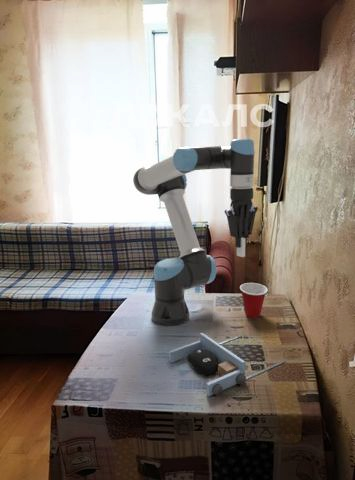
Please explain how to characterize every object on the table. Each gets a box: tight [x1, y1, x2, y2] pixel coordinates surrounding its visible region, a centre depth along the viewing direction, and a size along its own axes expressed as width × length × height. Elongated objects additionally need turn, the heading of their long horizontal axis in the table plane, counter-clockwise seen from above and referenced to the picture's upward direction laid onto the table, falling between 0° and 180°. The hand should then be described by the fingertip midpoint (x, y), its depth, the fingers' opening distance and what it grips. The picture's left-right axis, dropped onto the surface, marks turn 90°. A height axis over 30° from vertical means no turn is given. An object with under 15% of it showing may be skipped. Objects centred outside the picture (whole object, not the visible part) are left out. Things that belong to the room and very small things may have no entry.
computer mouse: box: [187, 350, 218, 378], centre depth 115 cm, size 8×12×4 cm, turn 20°
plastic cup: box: [239, 282, 269, 319], centre depth 147 cm, size 11×11×12 cm
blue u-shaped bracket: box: [168, 332, 247, 397], centre depth 112 cm, size 23×13×6 cm, turn 32°
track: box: [170, 334, 286, 397], centre depth 117 cm, size 21×30×1 cm
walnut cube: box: [217, 361, 238, 378], centre depth 108 cm, size 4×4×4 cm
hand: (240, 255), depth 128 cm, fingers closed
